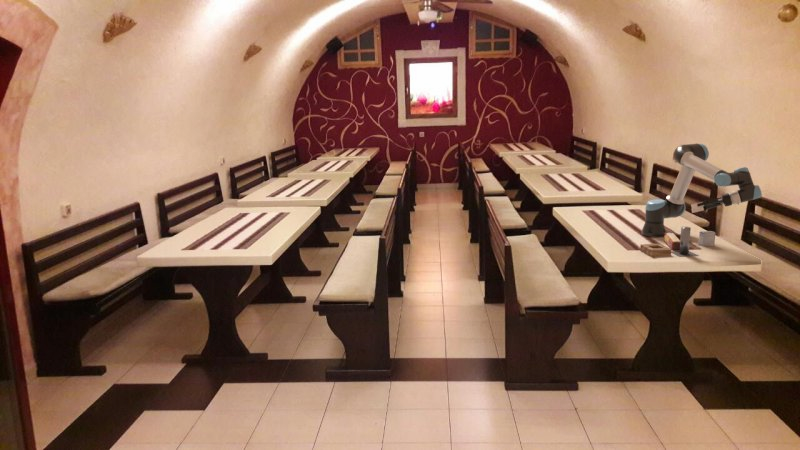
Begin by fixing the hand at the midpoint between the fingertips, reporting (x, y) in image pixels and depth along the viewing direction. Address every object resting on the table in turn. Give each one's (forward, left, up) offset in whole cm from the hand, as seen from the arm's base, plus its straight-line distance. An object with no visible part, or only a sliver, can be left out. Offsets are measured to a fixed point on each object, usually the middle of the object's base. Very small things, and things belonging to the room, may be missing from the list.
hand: (691, 209), depth 346 cm
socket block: (+3, -22, -26) cm, 34 cm away
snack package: (-10, -4, -26) cm, 28 cm away
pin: (+8, -7, -25) cm, 27 cm away
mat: (+8, -7, -26) cm, 28 cm away
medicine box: (-9, +17, -26) cm, 32 cm away
